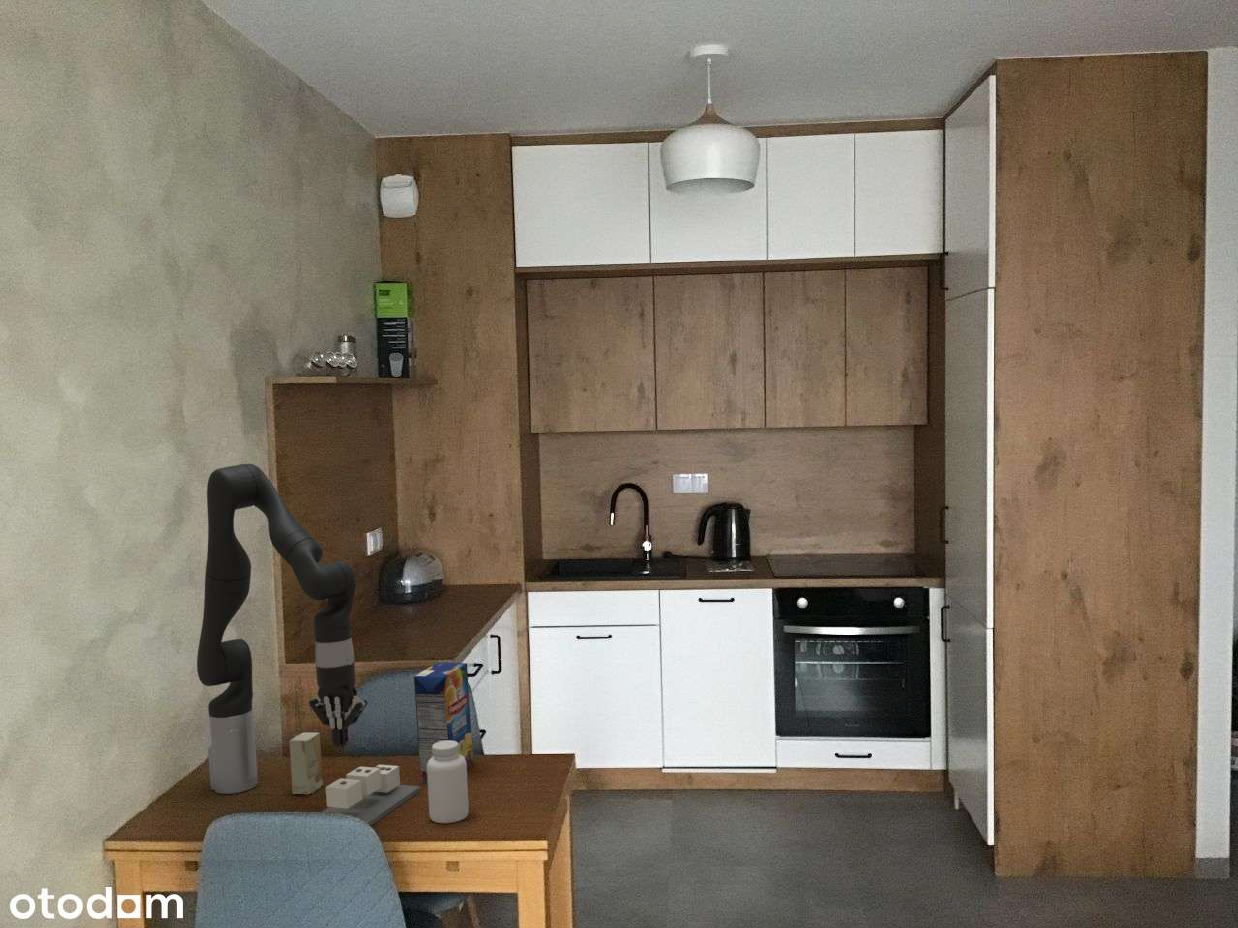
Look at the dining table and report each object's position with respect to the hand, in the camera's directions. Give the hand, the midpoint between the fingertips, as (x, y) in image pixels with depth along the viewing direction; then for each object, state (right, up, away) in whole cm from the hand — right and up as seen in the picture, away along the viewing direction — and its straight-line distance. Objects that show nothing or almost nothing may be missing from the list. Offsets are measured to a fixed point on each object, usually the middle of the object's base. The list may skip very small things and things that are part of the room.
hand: (341, 745), depth 209 cm
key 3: (+6, -13, +14) cm, 20 cm away
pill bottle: (+22, -15, +1) cm, 26 cm away
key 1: (+1, -12, +1) cm, 12 cm away
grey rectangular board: (+3, -15, +7) cm, 17 cm away
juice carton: (+17, -14, +26) cm, 34 cm away
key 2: (+3, -11, +7) cm, 14 cm away
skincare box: (-13, -16, +20) cm, 28 cm away
